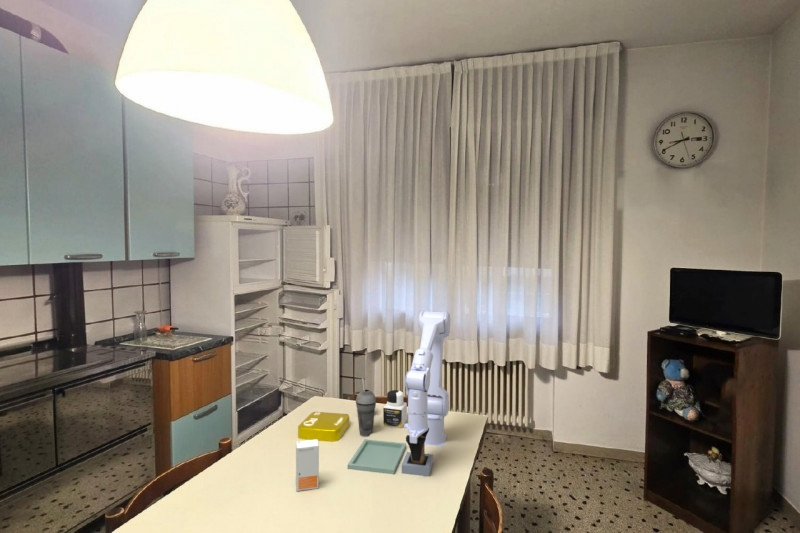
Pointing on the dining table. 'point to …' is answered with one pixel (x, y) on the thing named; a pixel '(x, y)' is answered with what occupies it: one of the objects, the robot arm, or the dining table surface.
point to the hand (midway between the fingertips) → (417, 456)
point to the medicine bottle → (395, 410)
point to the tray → (377, 456)
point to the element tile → (323, 426)
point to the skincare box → (307, 465)
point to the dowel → (422, 460)
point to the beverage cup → (365, 411)
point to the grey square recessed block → (417, 469)
